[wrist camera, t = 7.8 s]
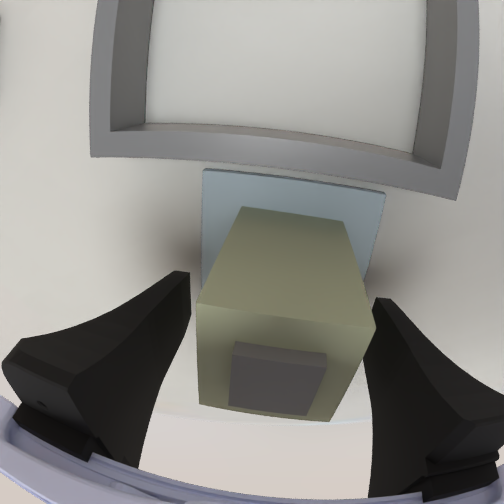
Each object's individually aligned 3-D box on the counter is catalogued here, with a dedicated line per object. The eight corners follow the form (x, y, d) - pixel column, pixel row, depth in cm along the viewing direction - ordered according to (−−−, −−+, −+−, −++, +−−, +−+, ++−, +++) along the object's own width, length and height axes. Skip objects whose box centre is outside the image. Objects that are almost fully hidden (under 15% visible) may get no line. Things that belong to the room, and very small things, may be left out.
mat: (384, 192, 13) (386, 194, 12) (345, 330, 17) (345, 334, 16) (205, 168, 13) (202, 170, 13) (203, 311, 17) (202, 315, 17)
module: (343, 221, 13) (379, 341, 7) (322, 303, 15) (329, 433, 9) (241, 206, 14) (190, 315, 7) (234, 290, 16) (195, 415, 9)
